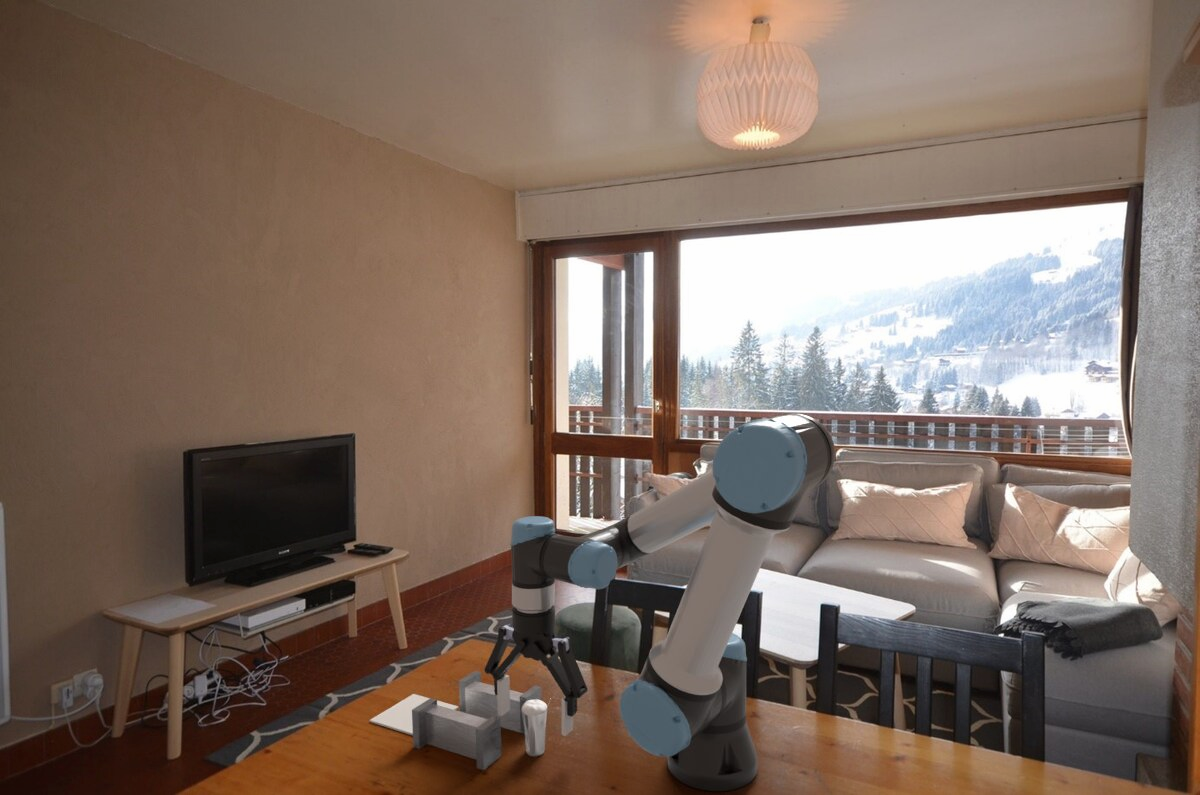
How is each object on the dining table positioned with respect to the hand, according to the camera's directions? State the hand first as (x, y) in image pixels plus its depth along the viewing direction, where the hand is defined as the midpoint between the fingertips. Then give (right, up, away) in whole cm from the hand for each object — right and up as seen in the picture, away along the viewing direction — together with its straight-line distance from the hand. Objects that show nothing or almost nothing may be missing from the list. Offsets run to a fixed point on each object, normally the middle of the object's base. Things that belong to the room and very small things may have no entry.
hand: (534, 722), depth 130 cm
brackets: (-11, -5, +6) cm, 14 cm away
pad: (-25, -5, +14) cm, 29 cm away
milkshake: (0, -6, 0) cm, 6 cm away
